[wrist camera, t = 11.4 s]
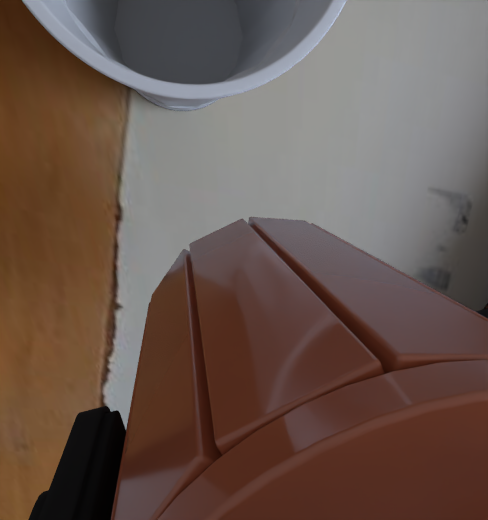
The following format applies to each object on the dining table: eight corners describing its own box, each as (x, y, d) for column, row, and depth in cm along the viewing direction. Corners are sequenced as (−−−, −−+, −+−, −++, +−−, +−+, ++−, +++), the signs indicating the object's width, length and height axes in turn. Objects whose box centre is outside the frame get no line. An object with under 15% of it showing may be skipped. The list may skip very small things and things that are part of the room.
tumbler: (102, 367, 12) (-67, 861, 4) (237, 168, 11) (423, 226, 3) (285, 458, 14) (444, 908, 6) (413, 296, 13) (823, 551, 5)
